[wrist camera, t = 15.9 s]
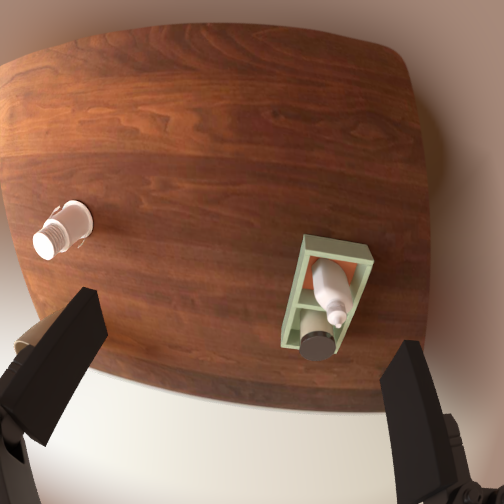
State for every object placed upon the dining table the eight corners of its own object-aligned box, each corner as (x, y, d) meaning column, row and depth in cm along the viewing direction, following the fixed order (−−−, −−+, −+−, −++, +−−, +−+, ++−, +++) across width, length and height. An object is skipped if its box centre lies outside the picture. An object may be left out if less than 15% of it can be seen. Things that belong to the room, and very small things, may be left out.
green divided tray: (304, 233, 43) (305, 249, 39) (367, 244, 42) (374, 260, 38) (281, 328, 52) (280, 347, 48) (334, 335, 51) (336, 353, 47)
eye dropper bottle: (321, 289, 46) (328, 346, 35) (308, 260, 44) (313, 315, 33) (348, 280, 44) (361, 335, 34) (336, 250, 42) (349, 302, 32)
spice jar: (325, 296, 47) (329, 331, 40) (335, 319, 49) (340, 354, 42) (293, 307, 48) (293, 343, 41) (306, 329, 51) (307, 364, 44)
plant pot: (45, 285, 55) (3, 331, 41) (96, 301, 55) (56, 356, 41) (61, 333, 62) (29, 378, 49) (109, 350, 62) (80, 402, 48)
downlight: (102, 219, 45) (67, 249, 36) (86, 246, 48) (55, 276, 39) (69, 189, 43) (31, 213, 34) (57, 217, 46) (22, 244, 37)
